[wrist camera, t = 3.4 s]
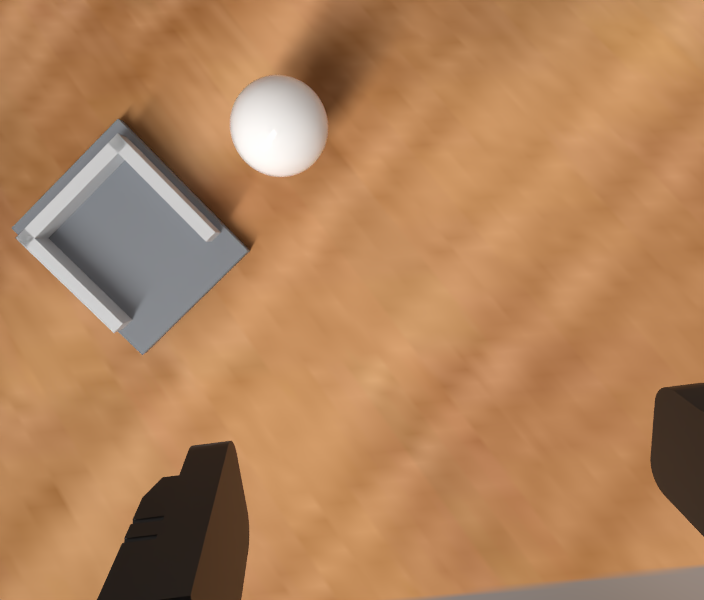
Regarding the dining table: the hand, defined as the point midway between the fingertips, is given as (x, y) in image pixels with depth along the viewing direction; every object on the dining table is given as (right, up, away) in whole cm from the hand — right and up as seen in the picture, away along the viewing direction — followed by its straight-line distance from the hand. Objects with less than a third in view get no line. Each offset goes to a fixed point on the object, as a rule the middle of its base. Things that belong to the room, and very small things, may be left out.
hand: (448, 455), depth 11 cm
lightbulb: (-7, +15, +34) cm, 38 cm away
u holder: (-19, +8, +34) cm, 40 cm away
